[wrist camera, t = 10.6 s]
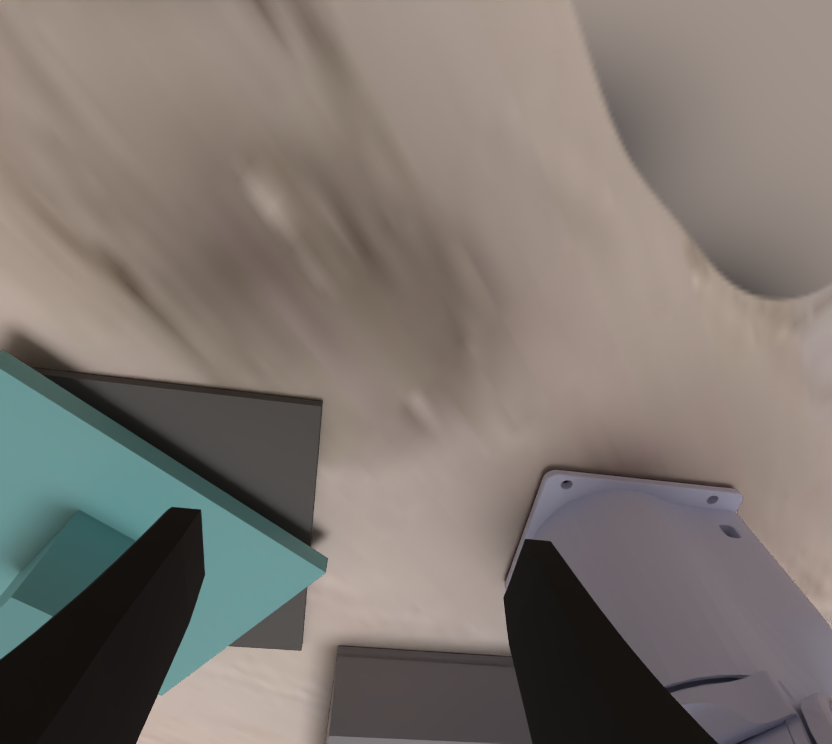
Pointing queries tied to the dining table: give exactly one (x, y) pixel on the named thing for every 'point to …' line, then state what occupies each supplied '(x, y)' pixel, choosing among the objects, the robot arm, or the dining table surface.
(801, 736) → the robot arm
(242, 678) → the dining table surface
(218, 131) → the dining table surface
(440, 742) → the tub
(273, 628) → the mat
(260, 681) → the dining table surface
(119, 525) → the lid
